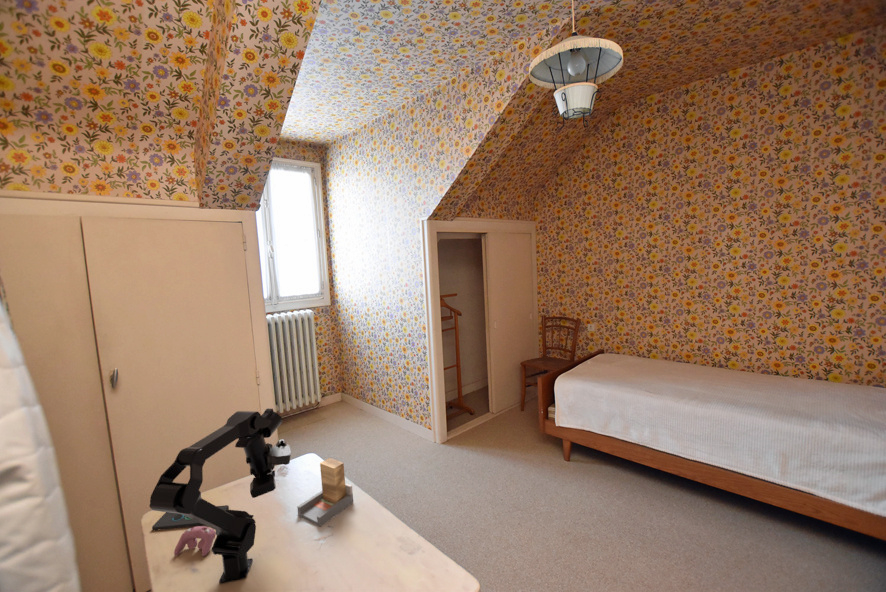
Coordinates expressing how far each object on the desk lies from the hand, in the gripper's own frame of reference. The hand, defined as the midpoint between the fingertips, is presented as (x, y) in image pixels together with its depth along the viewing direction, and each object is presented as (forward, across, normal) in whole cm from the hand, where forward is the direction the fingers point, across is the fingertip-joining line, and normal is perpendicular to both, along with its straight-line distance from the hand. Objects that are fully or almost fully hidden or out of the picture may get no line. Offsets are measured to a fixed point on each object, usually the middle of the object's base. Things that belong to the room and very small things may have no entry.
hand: (270, 490), depth 117 cm
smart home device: (+14, +16, +27) cm, 34 cm away
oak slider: (+15, +2, -17) cm, 23 cm away
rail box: (+16, 0, -14) cm, 21 cm away
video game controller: (+10, -1, +22) cm, 25 cm away
